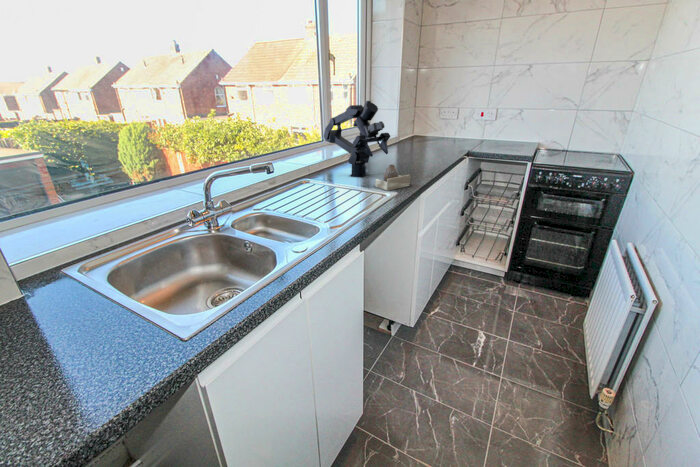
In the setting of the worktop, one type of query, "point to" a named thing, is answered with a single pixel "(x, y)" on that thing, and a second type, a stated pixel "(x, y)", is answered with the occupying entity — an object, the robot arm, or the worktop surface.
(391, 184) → the shoe shelf
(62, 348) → the worktop surface
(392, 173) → the vase
